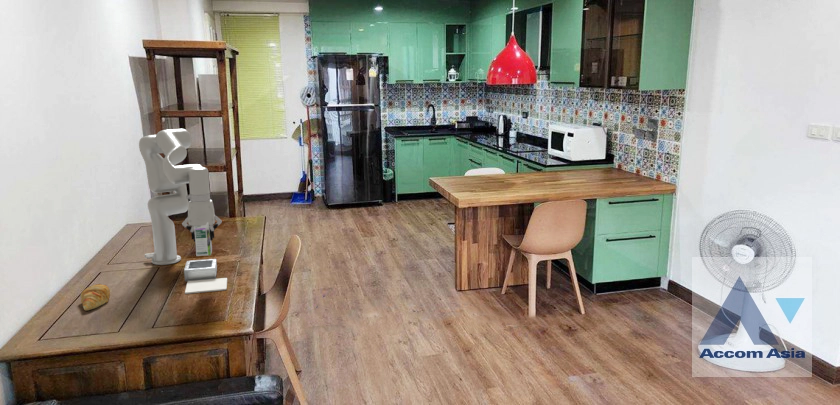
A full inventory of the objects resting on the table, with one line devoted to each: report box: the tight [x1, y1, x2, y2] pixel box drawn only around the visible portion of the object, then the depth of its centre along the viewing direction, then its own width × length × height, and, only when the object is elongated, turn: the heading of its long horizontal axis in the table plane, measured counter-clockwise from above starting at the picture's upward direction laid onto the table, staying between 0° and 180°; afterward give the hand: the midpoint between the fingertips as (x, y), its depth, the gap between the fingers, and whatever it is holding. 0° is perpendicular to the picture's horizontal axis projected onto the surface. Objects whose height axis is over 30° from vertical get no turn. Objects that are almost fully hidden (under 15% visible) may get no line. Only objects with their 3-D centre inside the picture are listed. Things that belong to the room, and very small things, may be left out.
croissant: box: [80, 283, 111, 311], centre depth 217 cm, size 21×10×8 cm, turn 13°
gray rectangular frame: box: [183, 258, 218, 282], centre depth 250 cm, size 12×19×5 cm, turn 17°
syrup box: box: [194, 222, 213, 257], centre depth 230 cm, size 6×6×14 cm
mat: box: [184, 277, 228, 295], centre depth 235 cm, size 16×13×1 cm
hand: (203, 239), depth 231 cm, fingers closed on syrup box, 5 cm apart
